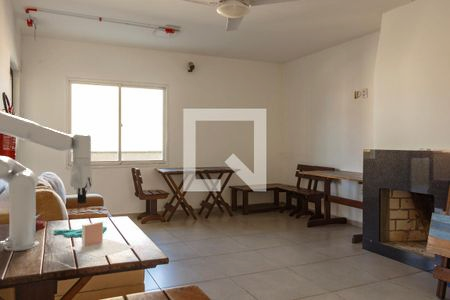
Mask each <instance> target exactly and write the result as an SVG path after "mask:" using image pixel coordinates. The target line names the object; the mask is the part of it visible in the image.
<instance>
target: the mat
mask: <svg viewBox="0 0 450 300" xmlns="http://www.w3.org/2000/svg"><path fill="white" fill-rule="evenodd" d="M133 248H135V246H134V245H129V244H127V243H122V242H120V241H119V242H118V241H116V240H115V241H114V240H111V239H108V238H104V239H103V243H99V244H95V245H91V246H87V247H82V244H80V245H79V244H78V245H75V246H72V247H69V249H71V250H74V251H77V252H80V253H83V254H86V255H89V256H91V257H94V258H98V259H99V258H102V257H105V256H109V255H113V254H116V253H120V252H122V251H126V250H130V249H133Z"/></svg>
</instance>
